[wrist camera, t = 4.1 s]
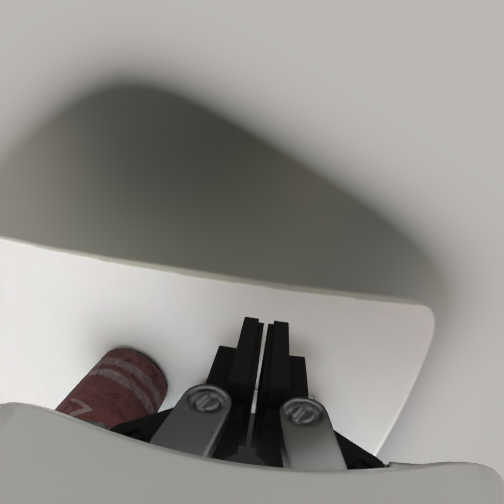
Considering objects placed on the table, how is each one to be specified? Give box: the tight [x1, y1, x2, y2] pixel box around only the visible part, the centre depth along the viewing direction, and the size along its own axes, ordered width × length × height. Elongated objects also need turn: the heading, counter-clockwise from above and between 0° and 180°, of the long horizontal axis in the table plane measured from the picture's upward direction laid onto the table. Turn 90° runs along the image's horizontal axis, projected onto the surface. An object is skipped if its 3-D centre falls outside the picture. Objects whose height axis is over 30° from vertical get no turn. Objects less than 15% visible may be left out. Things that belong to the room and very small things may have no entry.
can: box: [55, 349, 166, 428], centre depth 16 cm, size 6×6×14 cm
